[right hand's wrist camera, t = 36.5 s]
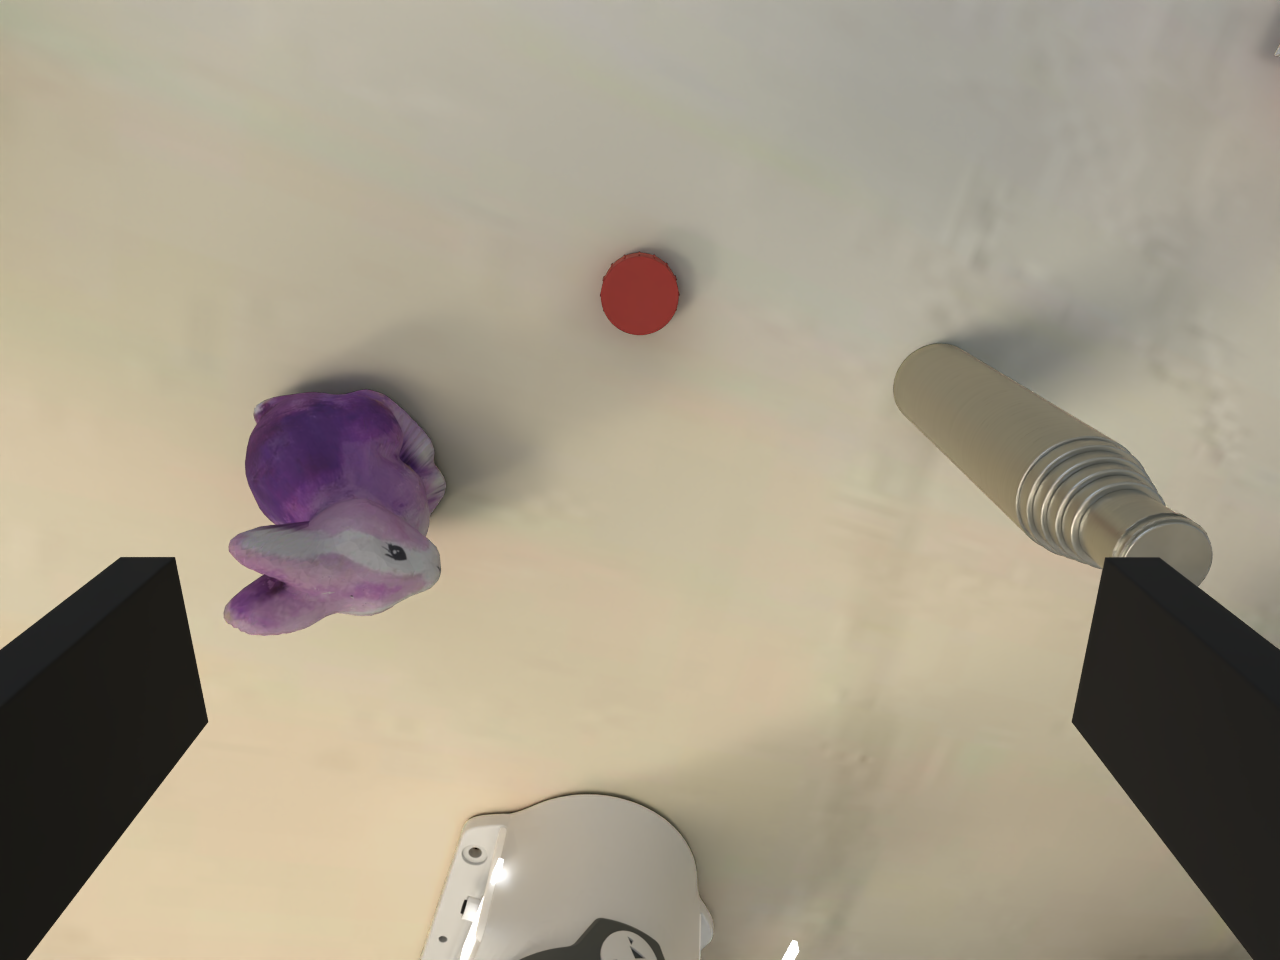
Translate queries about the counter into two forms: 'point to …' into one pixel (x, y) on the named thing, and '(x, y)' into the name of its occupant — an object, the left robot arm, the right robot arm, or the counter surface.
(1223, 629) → the right robot arm
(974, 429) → the bottle
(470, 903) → the left robot arm
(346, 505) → the figurine
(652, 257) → the cap
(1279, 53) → the toy
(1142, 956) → the counter surface
